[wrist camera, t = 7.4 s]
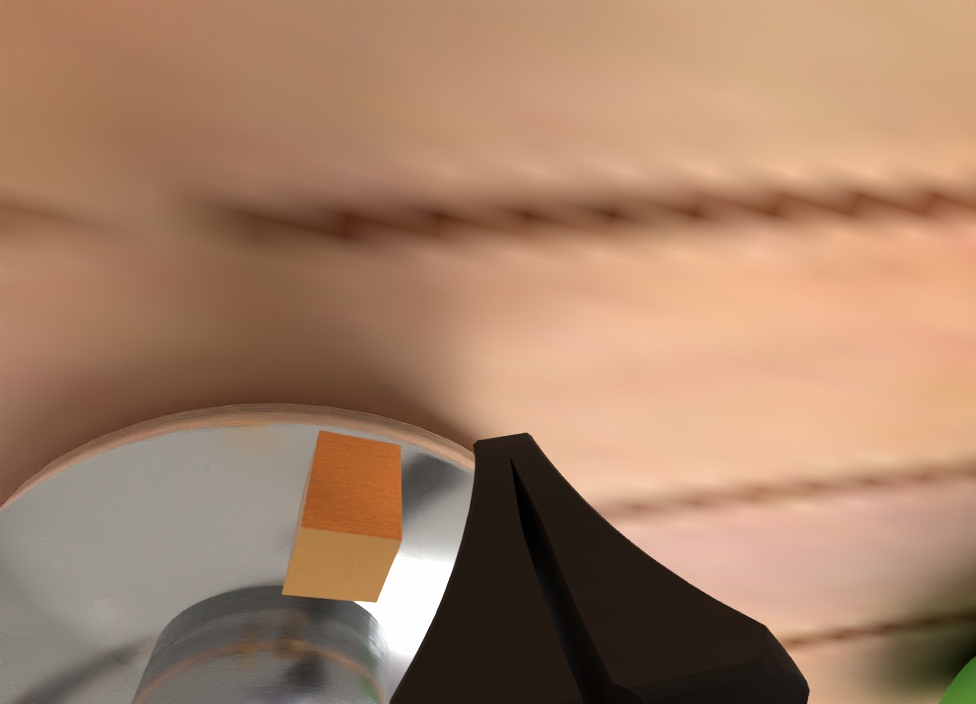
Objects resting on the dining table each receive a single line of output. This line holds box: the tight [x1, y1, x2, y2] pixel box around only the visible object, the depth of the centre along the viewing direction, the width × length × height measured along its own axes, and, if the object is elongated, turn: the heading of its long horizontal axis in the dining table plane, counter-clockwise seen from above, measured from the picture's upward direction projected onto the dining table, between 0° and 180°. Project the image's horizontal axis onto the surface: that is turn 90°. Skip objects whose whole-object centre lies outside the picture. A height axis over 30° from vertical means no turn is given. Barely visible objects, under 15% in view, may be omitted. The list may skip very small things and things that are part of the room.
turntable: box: [0, 403, 475, 704], centre depth 16 cm, size 18×18×4 cm
